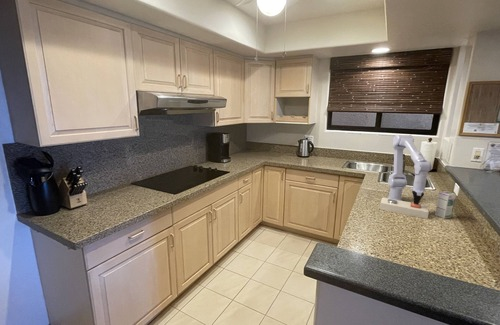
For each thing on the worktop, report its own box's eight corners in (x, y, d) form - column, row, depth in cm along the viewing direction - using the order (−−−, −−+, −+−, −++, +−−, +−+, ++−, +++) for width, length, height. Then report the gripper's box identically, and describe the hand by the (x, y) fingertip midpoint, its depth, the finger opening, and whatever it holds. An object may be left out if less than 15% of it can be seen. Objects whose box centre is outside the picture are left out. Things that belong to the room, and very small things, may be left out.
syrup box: (444, 218, 138) (449, 194, 135) (434, 214, 144) (438, 191, 141) (451, 217, 140) (457, 193, 137) (441, 213, 145) (446, 190, 142)
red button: (409, 209, 149) (410, 201, 148) (419, 211, 146) (420, 203, 145) (409, 211, 145) (410, 204, 144) (420, 214, 142) (421, 206, 141)
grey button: (387, 205, 155) (388, 198, 154) (396, 207, 153) (397, 200, 152) (386, 208, 151) (387, 201, 150) (396, 210, 148) (397, 203, 148)
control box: (381, 203, 160) (382, 197, 159) (425, 211, 148) (427, 205, 147) (379, 209, 150) (380, 202, 149) (427, 218, 138) (428, 212, 137)
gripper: (411, 177, 150) (407, 198, 153) (412, 183, 138) (408, 206, 141) (425, 179, 146) (421, 201, 149) (427, 185, 134) (423, 209, 137)
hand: (415, 203), depth 145 cm, fingers closed
